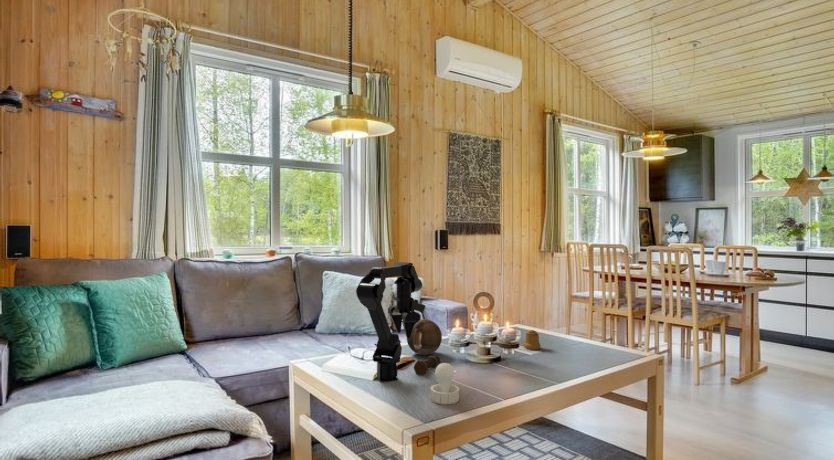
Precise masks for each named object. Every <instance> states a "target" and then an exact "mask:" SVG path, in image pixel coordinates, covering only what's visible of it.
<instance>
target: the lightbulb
mask: <svg viewBox="0 0 834 460" xmlns="http://www.w3.org/2000/svg"><path fill="white" fill-rule="evenodd" d="M454 369H455V368H454V367H453V365H451V364H450V363H448V362H442V363H441V362H440V363H439V364H438V365H437V367H436V368H435V372H434V373H435V377H436V380H437V382H438V384H439V385H440V390H441V393H449V389H450V384H452V380H453V379H454V376H455V370H454Z"/></svg>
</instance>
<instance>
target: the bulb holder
mask: <svg viewBox="0 0 834 460" xmlns="http://www.w3.org/2000/svg"><path fill="white" fill-rule="evenodd" d="M430 401H431V402H432V403H435V404H438V405H442V406H447V405H449V406H450V405H451V406H452V405H454V404H457V403H459V402H460V387H458V386H457V385H455V384H452V383H450V389H449V393H441V390H440V385H439V383H438V384H433V385H431V386H430Z"/></svg>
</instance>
